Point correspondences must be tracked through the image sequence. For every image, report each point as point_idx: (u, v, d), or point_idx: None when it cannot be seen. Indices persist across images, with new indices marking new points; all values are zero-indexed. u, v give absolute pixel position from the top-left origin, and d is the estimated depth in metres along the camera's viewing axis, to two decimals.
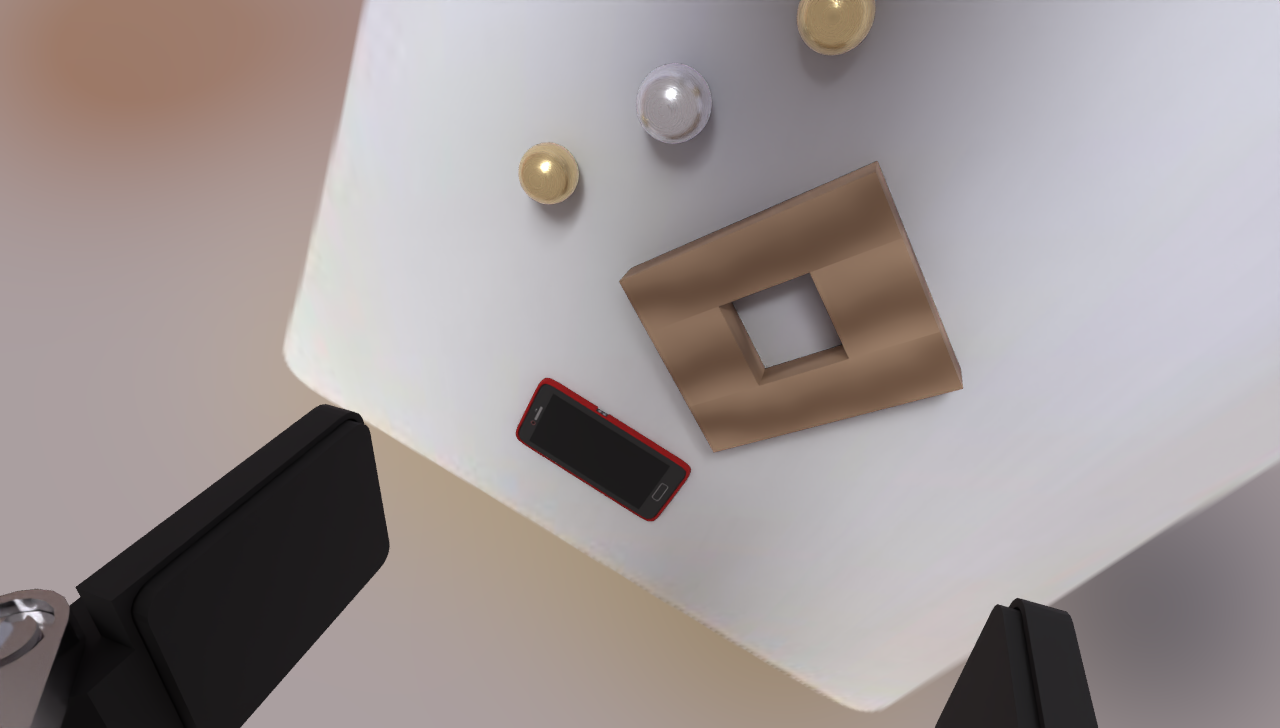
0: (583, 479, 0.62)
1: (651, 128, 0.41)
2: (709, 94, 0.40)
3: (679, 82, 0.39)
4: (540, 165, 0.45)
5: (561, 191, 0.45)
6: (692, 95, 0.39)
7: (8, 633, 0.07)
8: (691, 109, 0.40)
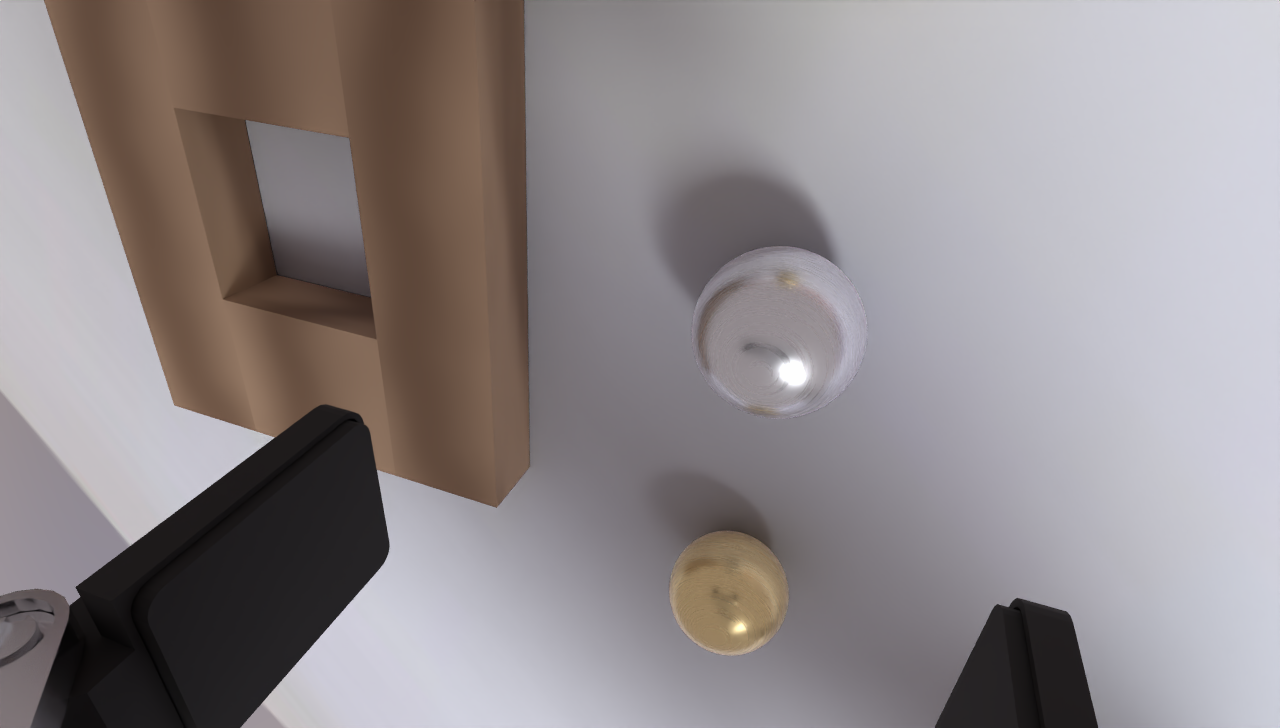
0: None
1: (750, 311, 0.16)
2: None
3: (792, 413, 0.17)
4: None
5: None
6: (753, 414, 0.18)
7: (8, 633, 0.07)
8: (730, 401, 0.18)
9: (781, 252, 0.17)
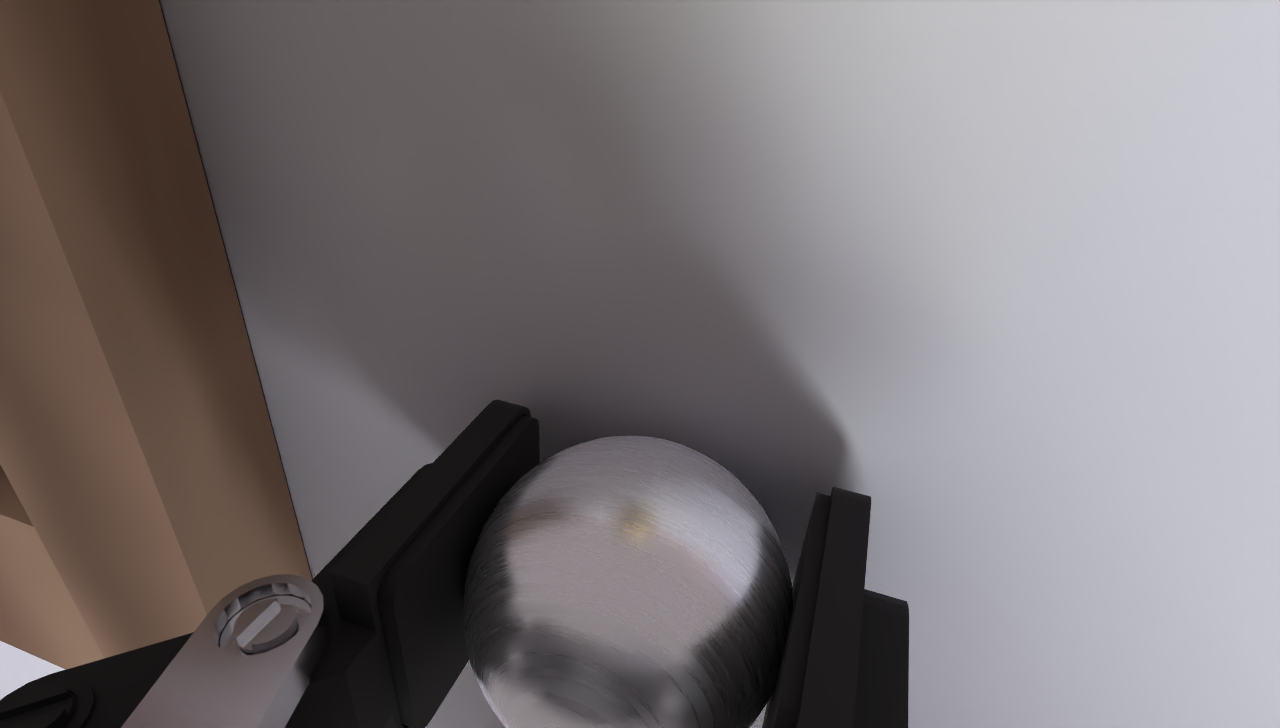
0: None
1: (535, 623, 0.08)
2: None
3: None
4: None
5: None
6: None
7: (269, 615, 0.08)
8: None
9: (615, 474, 0.09)
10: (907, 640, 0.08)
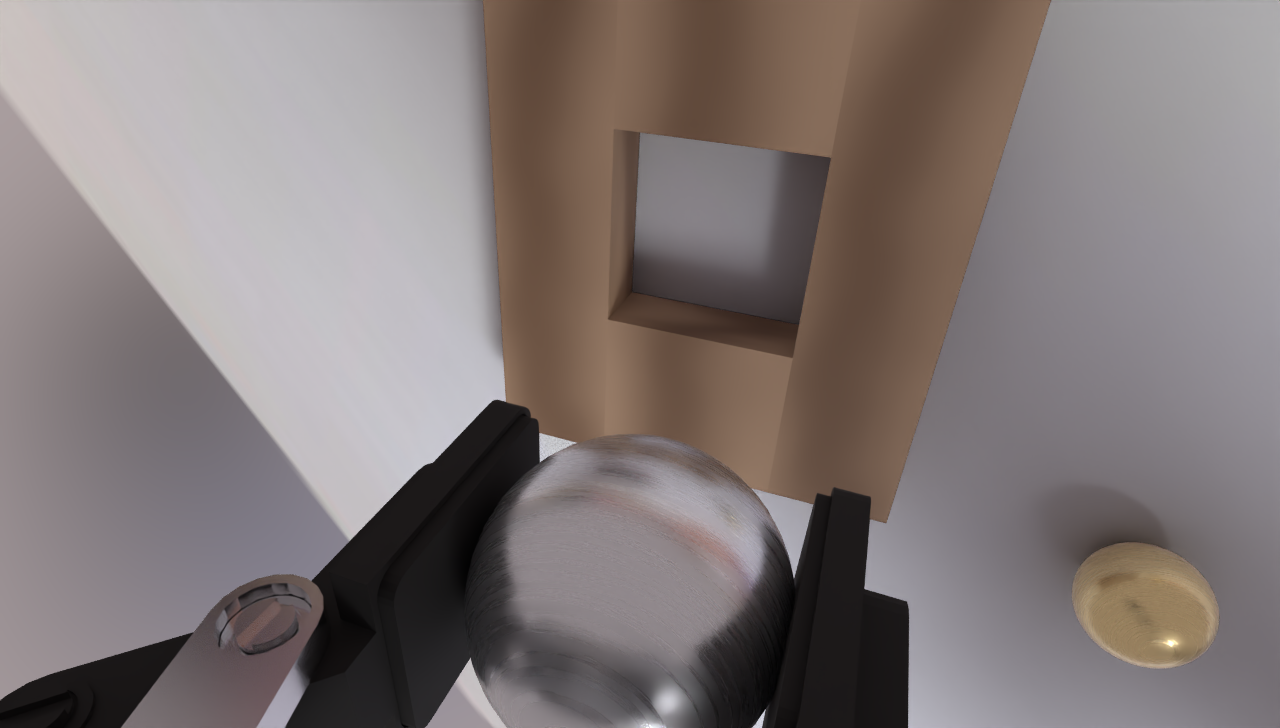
0: None
1: (537, 622, 0.08)
2: None
3: None
4: None
5: None
6: None
7: (269, 615, 0.08)
8: None
9: (617, 472, 0.08)
10: (907, 640, 0.08)
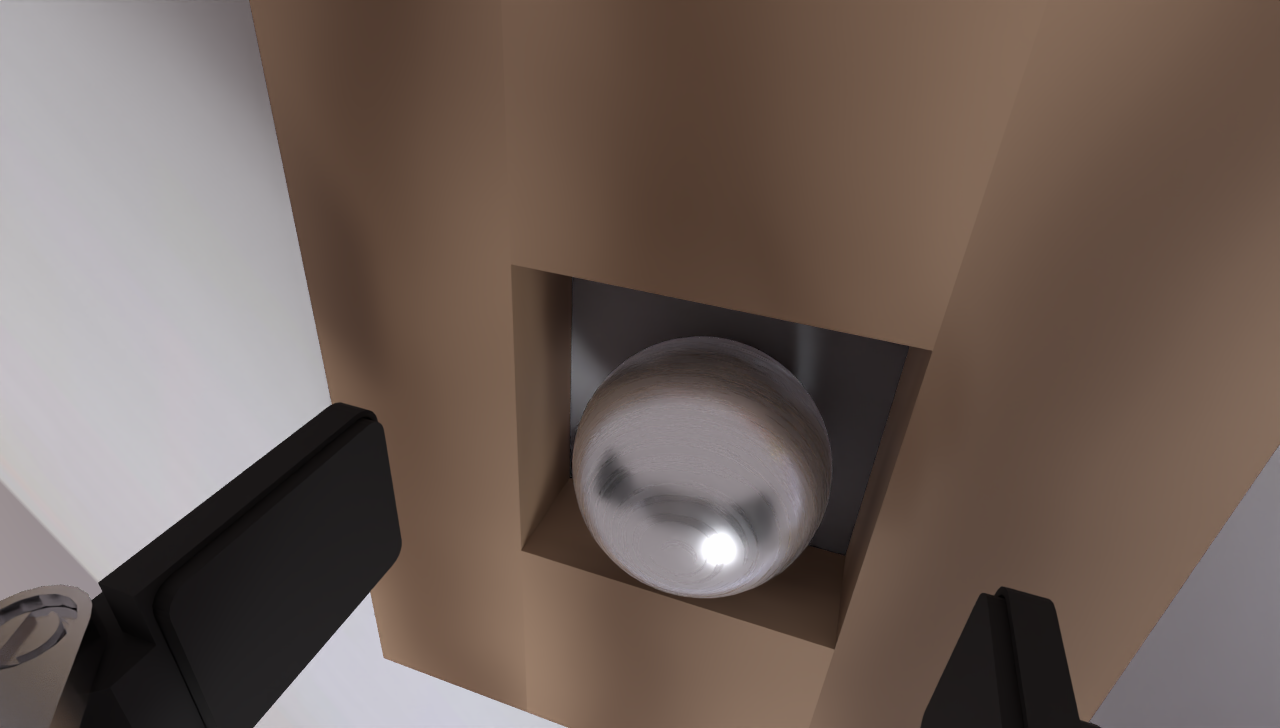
0: None
1: (654, 463, 0.10)
2: None
3: None
4: None
5: None
6: None
7: (32, 628, 0.07)
8: None
9: (698, 356, 0.11)
10: None
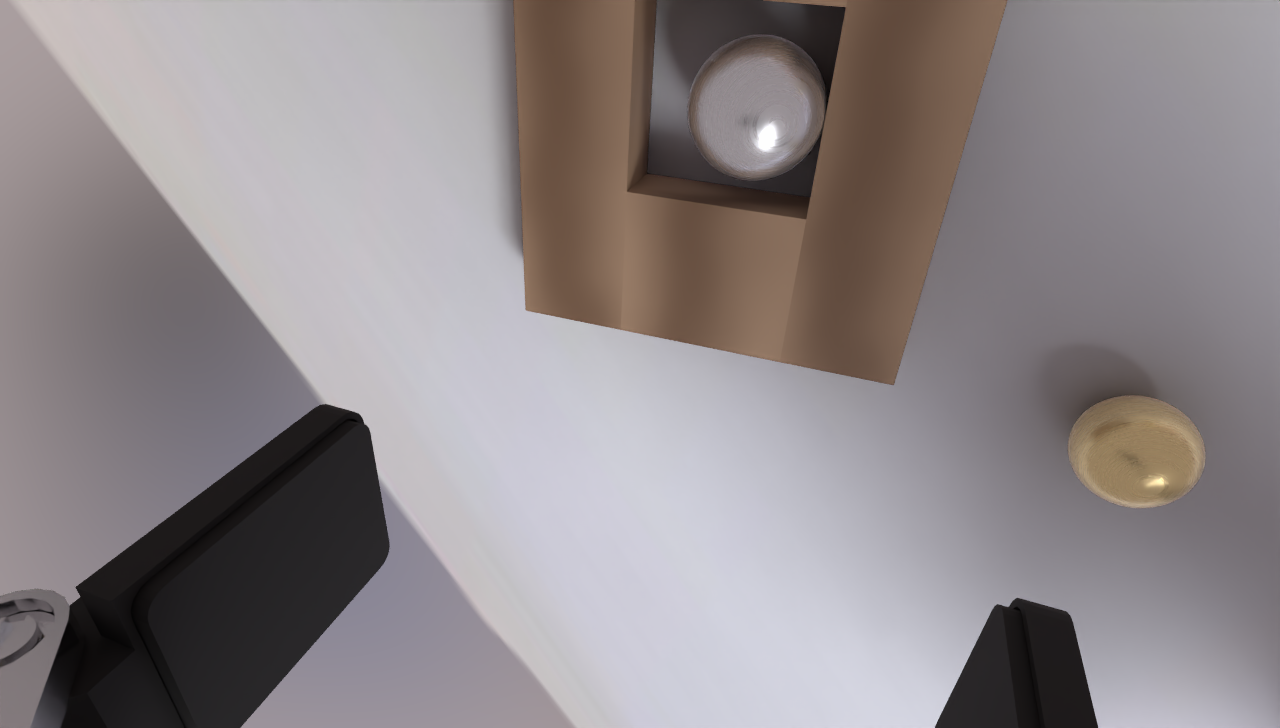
0: None
1: (760, 77, 0.21)
2: None
3: (790, 165, 0.22)
4: None
5: None
6: (759, 174, 0.22)
7: (8, 633, 0.07)
8: (743, 165, 0.22)
9: (758, 35, 0.21)
10: None
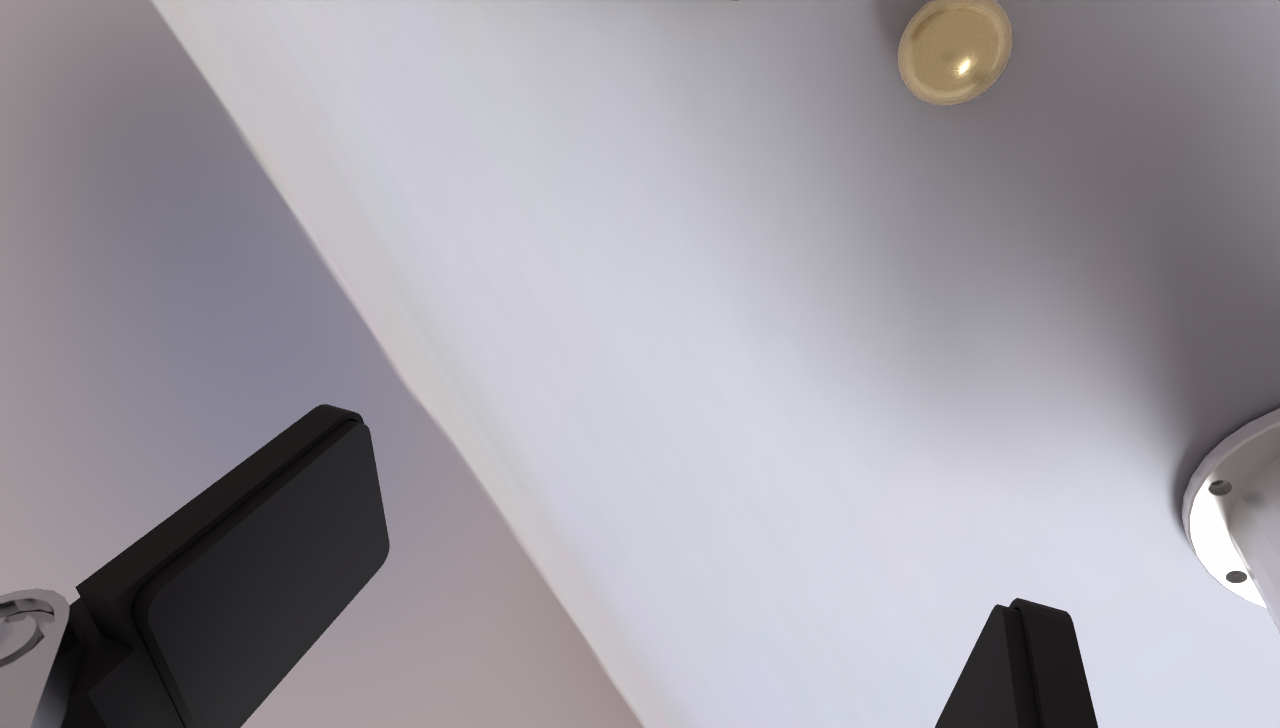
0: None
1: None
2: None
3: None
4: None
5: None
6: None
7: (8, 633, 0.07)
8: None
9: None
10: None
